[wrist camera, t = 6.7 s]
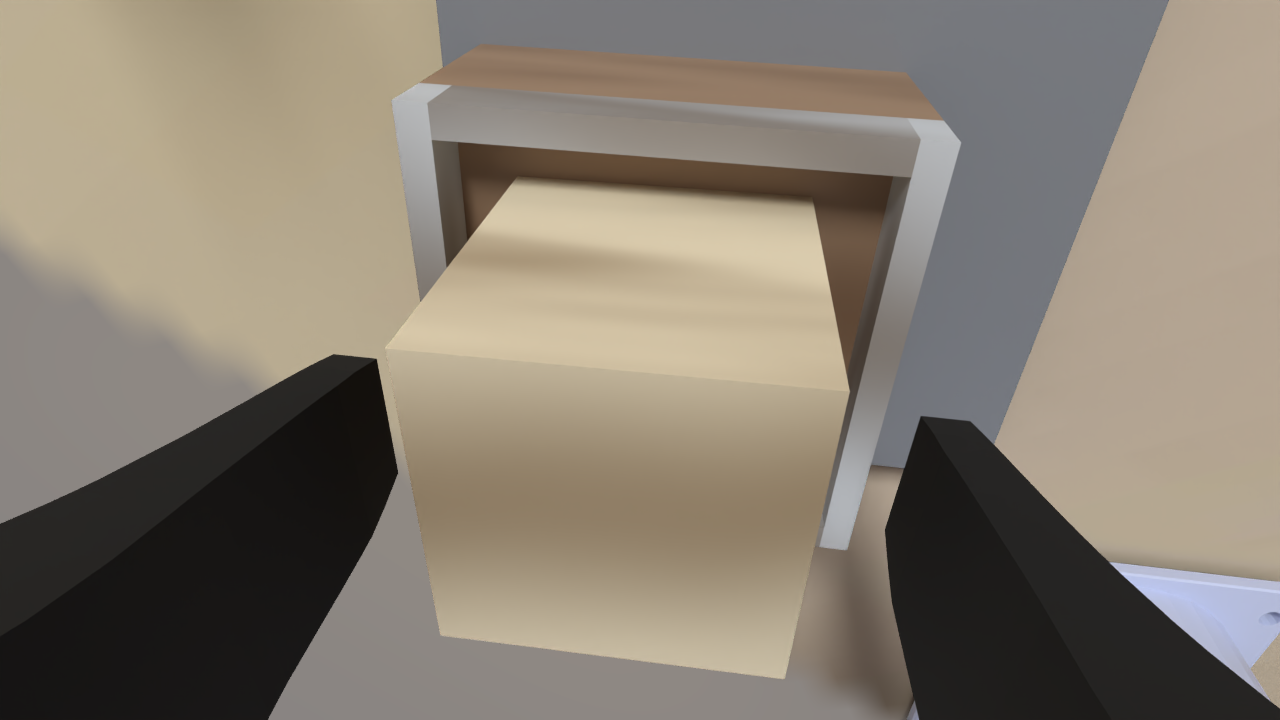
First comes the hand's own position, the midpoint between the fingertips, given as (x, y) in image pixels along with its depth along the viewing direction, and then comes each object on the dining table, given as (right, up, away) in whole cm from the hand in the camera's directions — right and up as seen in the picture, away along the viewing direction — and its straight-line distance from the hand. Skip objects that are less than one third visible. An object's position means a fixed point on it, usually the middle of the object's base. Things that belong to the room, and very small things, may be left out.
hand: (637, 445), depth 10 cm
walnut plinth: (+1, +4, +6) cm, 7 cm away
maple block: (0, +2, +2) cm, 3 cm away
